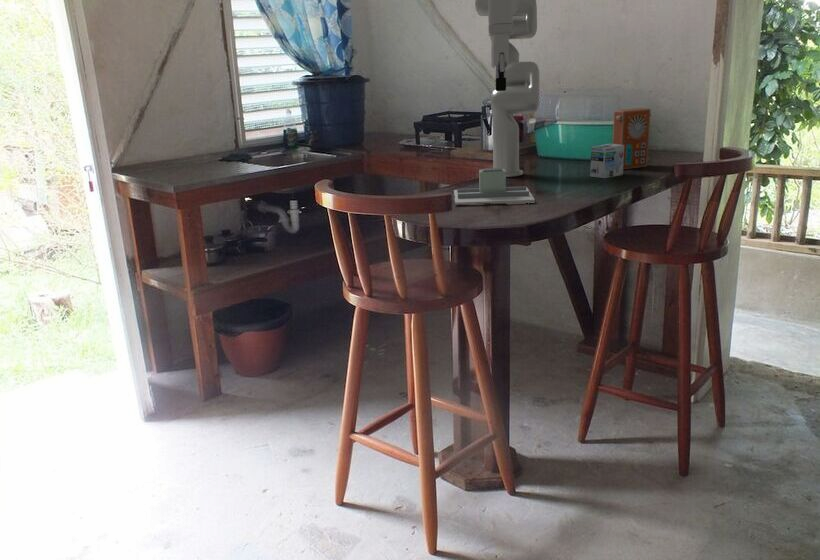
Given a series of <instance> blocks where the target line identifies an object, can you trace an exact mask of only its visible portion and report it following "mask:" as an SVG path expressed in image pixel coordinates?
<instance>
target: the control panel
mask: <svg viewBox="0 0 820 560" xmlns="http://www.w3.org/2000/svg"><path fill="white" fill-rule="evenodd" d="M651 117H652V113H651V108H644V107H637V108H627V109H616V110H615V109H614V111H613V124H612V125H613V129H612V144H618V145H624V162H623V170H630V169H636V168H637V169H639V168H646V167H648V161H649V160H650V158H649V157H648V156H649V143H650V142H649V139H650V138H649V137H650V123H651Z"/></svg>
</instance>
